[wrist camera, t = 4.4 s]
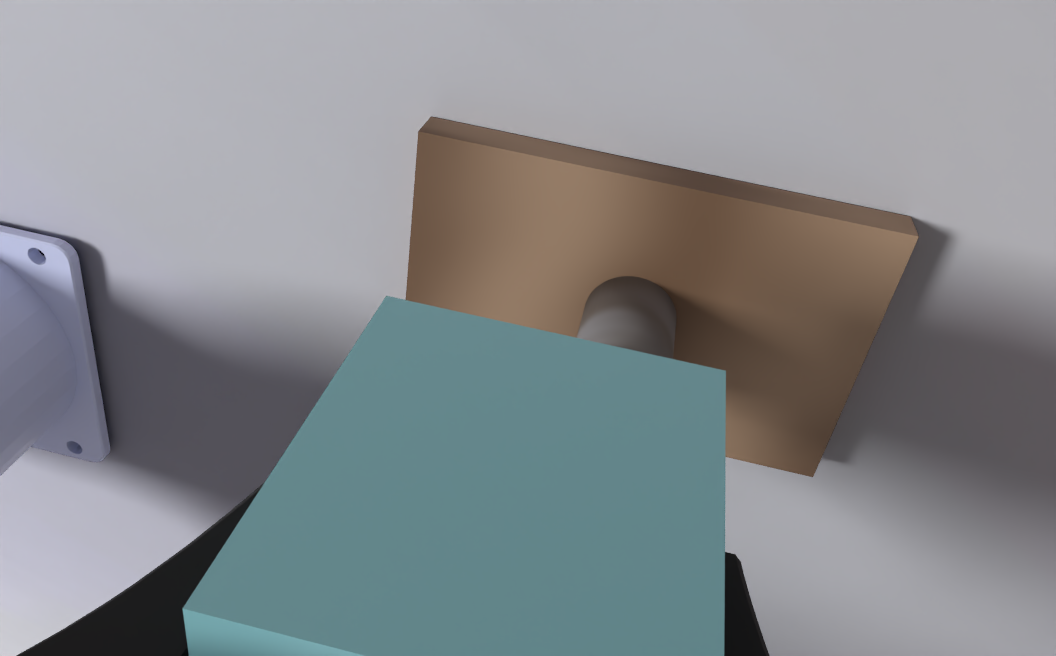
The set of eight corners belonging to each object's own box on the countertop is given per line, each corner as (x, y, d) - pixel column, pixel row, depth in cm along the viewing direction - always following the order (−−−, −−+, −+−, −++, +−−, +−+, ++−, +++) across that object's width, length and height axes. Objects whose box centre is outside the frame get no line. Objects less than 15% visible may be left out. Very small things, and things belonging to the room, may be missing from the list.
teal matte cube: (374, 532, 16) (217, 870, 11) (386, 295, 13) (182, 608, 8) (651, 600, 16) (615, 982, 11) (725, 370, 13) (724, 748, 8)
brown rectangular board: (411, 359, 24) (343, 484, 20) (431, 116, 20) (352, 208, 16) (809, 452, 23) (828, 603, 19) (910, 216, 19) (961, 341, 15)
